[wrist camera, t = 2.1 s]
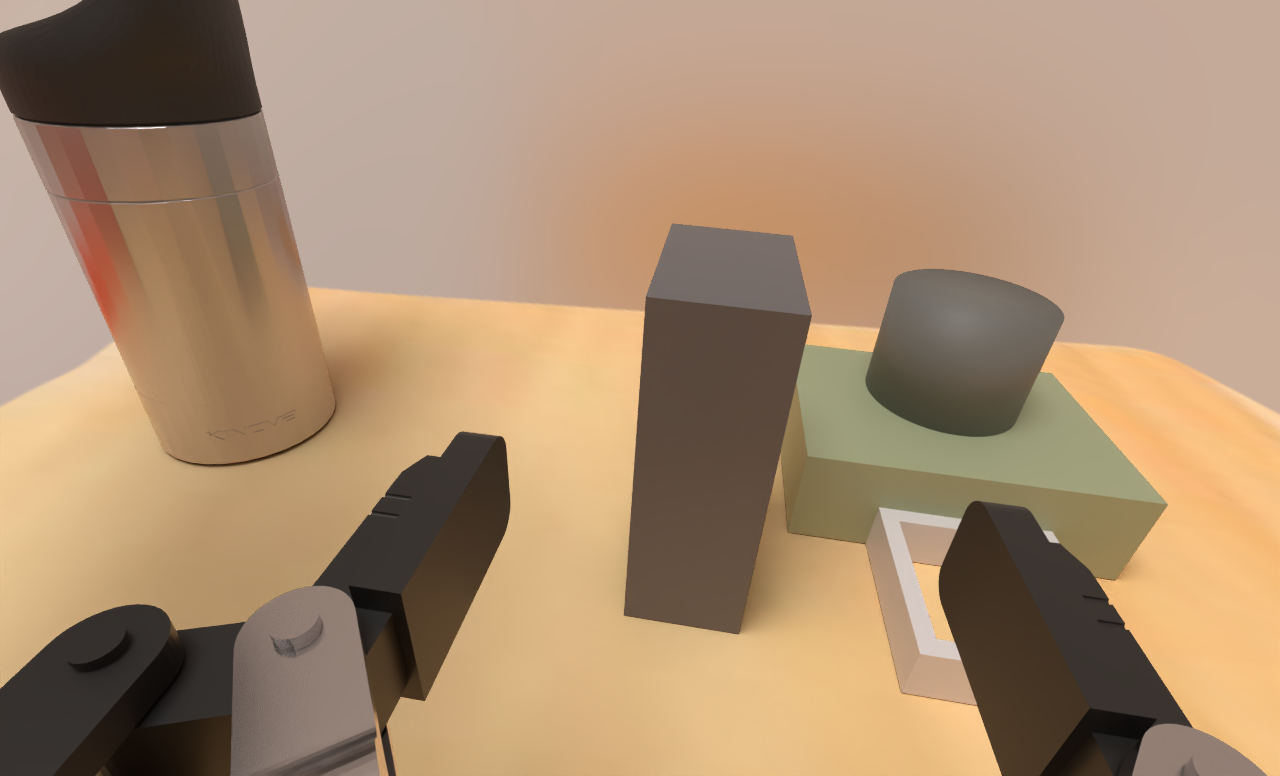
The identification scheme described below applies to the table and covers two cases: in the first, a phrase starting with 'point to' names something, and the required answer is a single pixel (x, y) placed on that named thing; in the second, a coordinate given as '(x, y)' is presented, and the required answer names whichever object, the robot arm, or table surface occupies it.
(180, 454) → the robot arm
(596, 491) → the table surface
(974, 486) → the green block with cylinder
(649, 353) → the dark grey angled block
